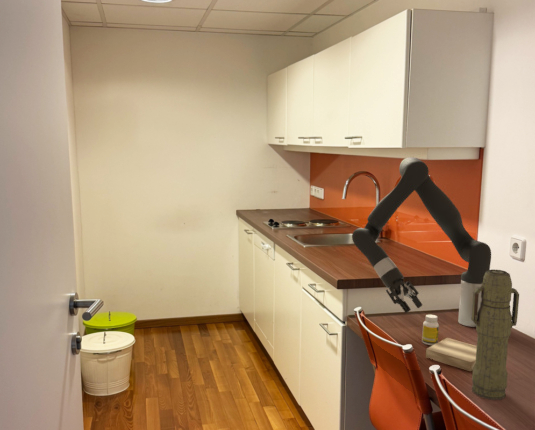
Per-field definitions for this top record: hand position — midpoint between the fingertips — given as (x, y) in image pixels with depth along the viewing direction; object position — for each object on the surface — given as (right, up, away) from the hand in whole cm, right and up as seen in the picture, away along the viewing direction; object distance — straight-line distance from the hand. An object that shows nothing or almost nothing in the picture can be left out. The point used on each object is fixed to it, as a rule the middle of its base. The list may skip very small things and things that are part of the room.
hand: (414, 309), depth 189 cm
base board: (+10, -13, -17) cm, 23 cm away
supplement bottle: (+4, -12, -3) cm, 13 cm away
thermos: (+9, -16, -41) cm, 45 cm away
